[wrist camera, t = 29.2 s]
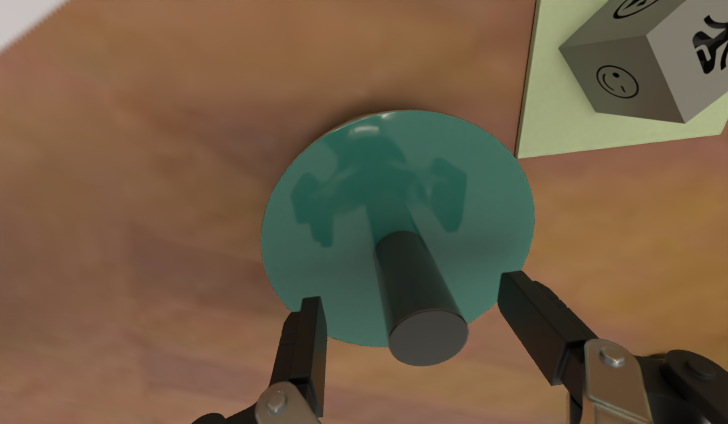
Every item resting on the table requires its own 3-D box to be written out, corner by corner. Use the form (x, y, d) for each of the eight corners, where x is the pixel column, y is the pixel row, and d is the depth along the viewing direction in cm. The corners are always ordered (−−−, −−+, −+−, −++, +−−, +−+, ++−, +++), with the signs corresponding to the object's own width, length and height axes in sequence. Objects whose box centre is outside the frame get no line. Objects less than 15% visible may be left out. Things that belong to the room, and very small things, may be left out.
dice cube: (558, 48, 16) (646, 35, 11) (643, -33, 14) (782, -85, 10) (595, 112, 17) (685, 123, 13) (674, 46, 16) (804, 33, 11)
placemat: (514, 157, 19) (517, 158, 18) (556, -144, 13) (563, -151, 12) (713, 133, 19) (720, 134, 19) (851, -173, 13) (866, -181, 12)
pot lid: (296, 346, 19) (275, 467, 13) (229, 127, 13) (128, 170, 7) (505, 318, 19) (578, 424, 13) (545, 90, 13) (718, 100, 7)
